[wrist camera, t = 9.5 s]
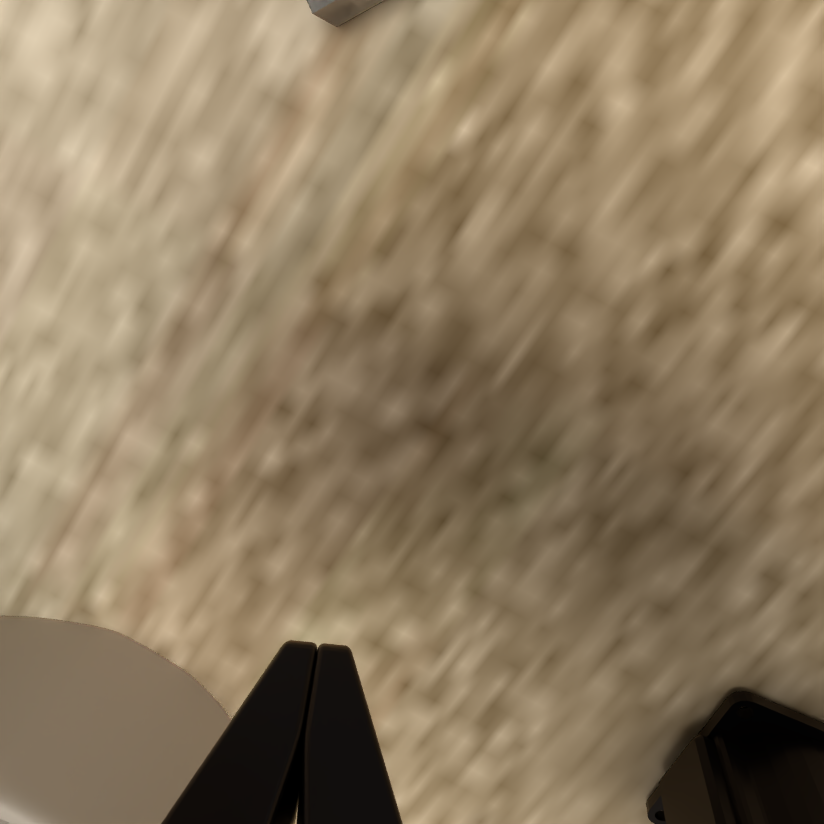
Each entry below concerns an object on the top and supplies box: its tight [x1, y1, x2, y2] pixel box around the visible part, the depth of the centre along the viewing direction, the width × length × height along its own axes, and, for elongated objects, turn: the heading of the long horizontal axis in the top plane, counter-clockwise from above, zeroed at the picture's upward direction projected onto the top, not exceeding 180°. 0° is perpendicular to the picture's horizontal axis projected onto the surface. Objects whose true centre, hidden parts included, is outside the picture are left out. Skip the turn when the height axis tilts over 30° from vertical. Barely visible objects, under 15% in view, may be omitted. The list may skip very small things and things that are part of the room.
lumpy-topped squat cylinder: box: [0, 616, 231, 824], centre depth 25 cm, size 10×13×9 cm
